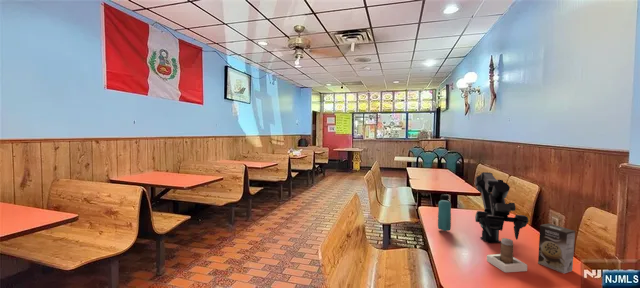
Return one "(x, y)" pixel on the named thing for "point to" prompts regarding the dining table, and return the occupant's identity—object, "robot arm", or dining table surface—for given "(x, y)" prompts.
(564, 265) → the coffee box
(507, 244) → the pepper mill
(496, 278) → the dining table surface
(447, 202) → the beverage bottle
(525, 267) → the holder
